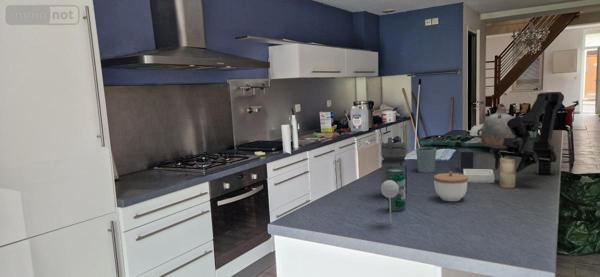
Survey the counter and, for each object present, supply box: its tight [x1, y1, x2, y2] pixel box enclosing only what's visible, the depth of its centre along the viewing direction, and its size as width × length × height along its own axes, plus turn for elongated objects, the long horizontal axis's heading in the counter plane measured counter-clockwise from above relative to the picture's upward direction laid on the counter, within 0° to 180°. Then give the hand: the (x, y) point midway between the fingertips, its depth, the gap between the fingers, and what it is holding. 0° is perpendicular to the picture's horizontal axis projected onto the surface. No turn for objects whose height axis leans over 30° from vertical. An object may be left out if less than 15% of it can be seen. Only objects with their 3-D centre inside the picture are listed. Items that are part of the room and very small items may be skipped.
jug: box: [476, 102, 515, 151], centre depth 259 cm, size 24×21×30 cm
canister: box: [499, 156, 517, 189], centre depth 179 cm, size 6×6×12 cm
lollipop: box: [380, 180, 399, 225], centre depth 139 cm, size 6×6×15 cm
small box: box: [457, 148, 474, 173], centre depth 214 cm, size 11×6×10 cm, turn 168°
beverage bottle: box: [380, 135, 408, 196], centre depth 174 cm, size 10×13×25 cm
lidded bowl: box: [433, 171, 468, 202], centre depth 164 cm, size 13×13×11 cm
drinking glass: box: [415, 146, 437, 174], centre depth 216 cm, size 10×10×12 cm
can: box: [387, 168, 407, 212], centre depth 155 cm, size 6×6×15 cm
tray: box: [462, 168, 495, 184], centre depth 193 cm, size 13×13×4 cm
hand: (506, 170), depth 178 cm, fingers open, 9 cm apart
